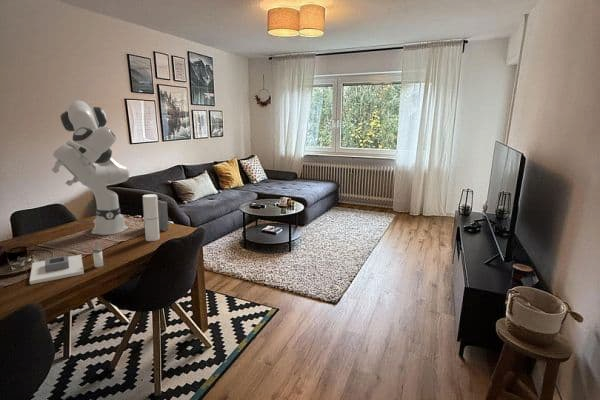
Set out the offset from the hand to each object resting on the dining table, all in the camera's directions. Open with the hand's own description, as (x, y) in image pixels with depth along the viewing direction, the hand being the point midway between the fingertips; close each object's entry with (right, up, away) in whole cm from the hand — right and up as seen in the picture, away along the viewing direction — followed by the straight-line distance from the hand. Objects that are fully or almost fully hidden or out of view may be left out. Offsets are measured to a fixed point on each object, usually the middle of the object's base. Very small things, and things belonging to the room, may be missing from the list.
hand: (60, 178), depth 138 cm
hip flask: (+14, -27, +61) cm, 69 cm away
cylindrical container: (+19, -31, +45) cm, 58 cm away
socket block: (-4, -40, +4) cm, 40 cm away
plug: (+10, -39, +10) cm, 42 cm away
